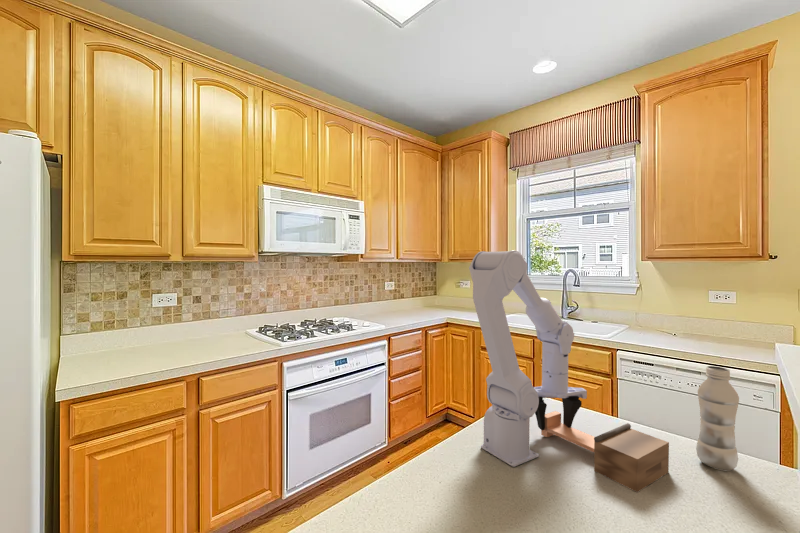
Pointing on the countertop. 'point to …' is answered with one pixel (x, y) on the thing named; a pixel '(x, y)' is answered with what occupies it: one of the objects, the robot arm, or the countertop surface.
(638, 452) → the dispenser
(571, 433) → the peach l-shaped bracket
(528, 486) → the countertop surface
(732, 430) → the plastic bottle
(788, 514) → the countertop surface
